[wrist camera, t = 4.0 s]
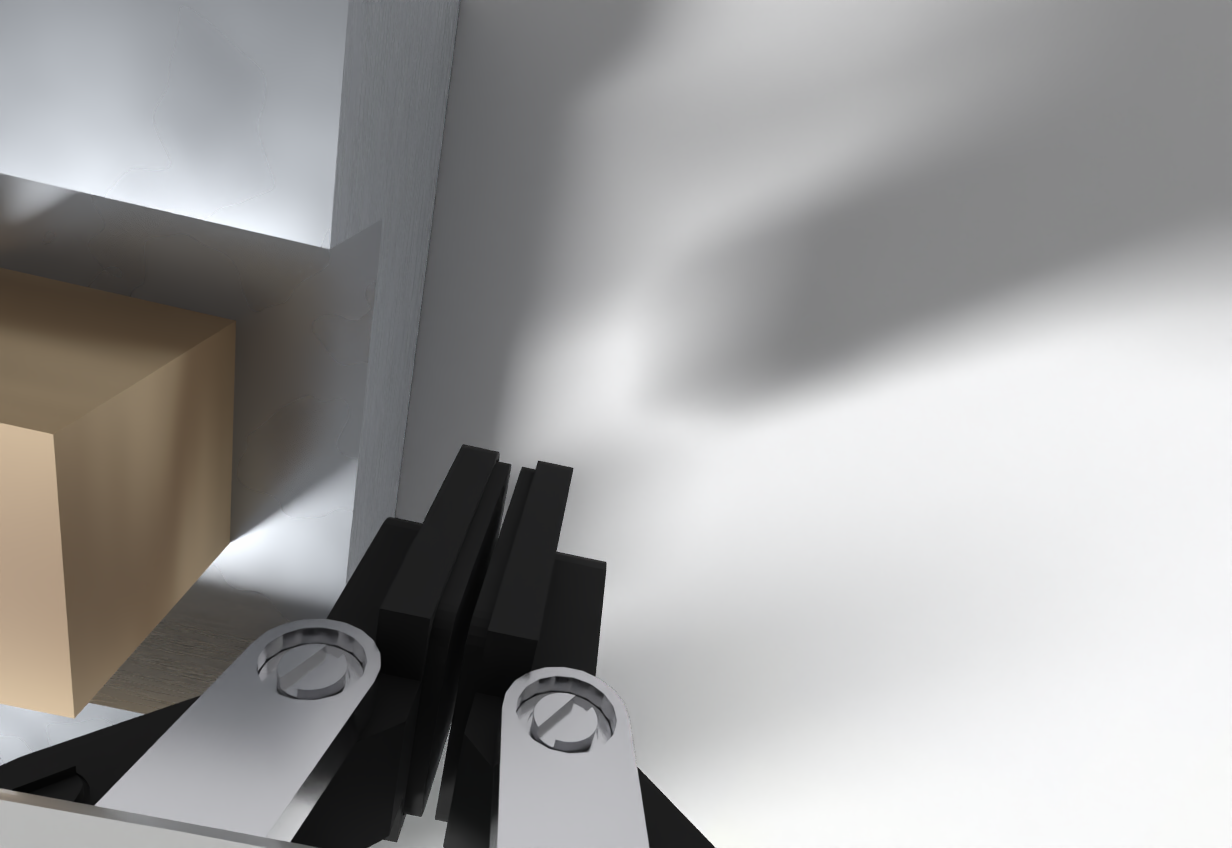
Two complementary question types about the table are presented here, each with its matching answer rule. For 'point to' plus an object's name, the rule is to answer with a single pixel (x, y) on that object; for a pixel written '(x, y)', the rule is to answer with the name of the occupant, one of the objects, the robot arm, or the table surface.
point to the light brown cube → (103, 478)
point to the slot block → (240, 266)
